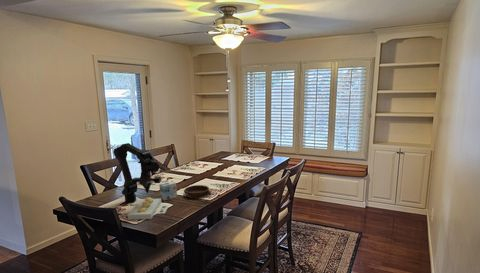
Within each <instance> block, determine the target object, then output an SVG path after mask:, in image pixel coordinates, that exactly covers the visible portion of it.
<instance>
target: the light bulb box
mask: <svg viewBox="0 0 480 273" xmlns="http://www.w3.org/2000/svg"><path fill="white" fill-rule="evenodd" d="M158 184H159V196H160V198H161V200H163V201H167V200H171V199H175V198H177V197H178V192H177V191H178V188H177V187H178V186H177V182H175V181H174V180H170V181H166V182H162V183H161V182H160V183H158ZM160 198H159V199H160Z"/></svg>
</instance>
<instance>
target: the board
mask: <svg viewBox="0 0 480 273" xmlns="http://www.w3.org/2000/svg"><path fill="white" fill-rule="evenodd" d="M144 201H145V198H141V199H140V200H139V201H138V202H137V203H136V205H134V207H133V208H132V209H131V211H129V213H127V220H129V221H130V219H134V220H151V219H153V217H154V215H155V214H156V213H157V212H158V210H159V208H160V207H161V204H162V199H161V198H152V203H149V207H148V208H146V211H145V212H139V208H142V202H144Z"/></svg>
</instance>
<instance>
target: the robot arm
mask: <svg viewBox="0 0 480 273" xmlns="http://www.w3.org/2000/svg"><path fill="white" fill-rule="evenodd" d="M112 153H113V156H114V157H115V159H116V160H117V161H118V163H119V166H120V169H121V173H122V177H123V179H124V182H123V189H122V191H121V194H122V195H124V204H133V203H135V202H136V201H137V195H136V193H137V192H138V183H139V185H140V186H142V187H143V188H144V190H145V192H146V194H148V193H149V191H150V188H151V185H152V184H153V183H154V184H161V182H162V177H161V176H155V177H154V178H152V176H151V174H152V173H157V172H158V171H159V170H160V164H159V163H157V162H158V161H156V160H155V159H154V157H153V156H152V154H151V151H150V150H148V149H140V148H138V147H136V146H134V145H132V144H131V143H129V142H127V143H126V142H125V143H122V144H121V145H120V146H118V147H115V148H114V149H113V151H112ZM128 153H130V154H132V155H133V156H136V159H138V160H139V161H138V162H137V163H138V164H140V176H139V177H133V176H132V173H131V170H130V167H129V163H128V160H127V157H128ZM151 172H152V173H151Z"/></svg>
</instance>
